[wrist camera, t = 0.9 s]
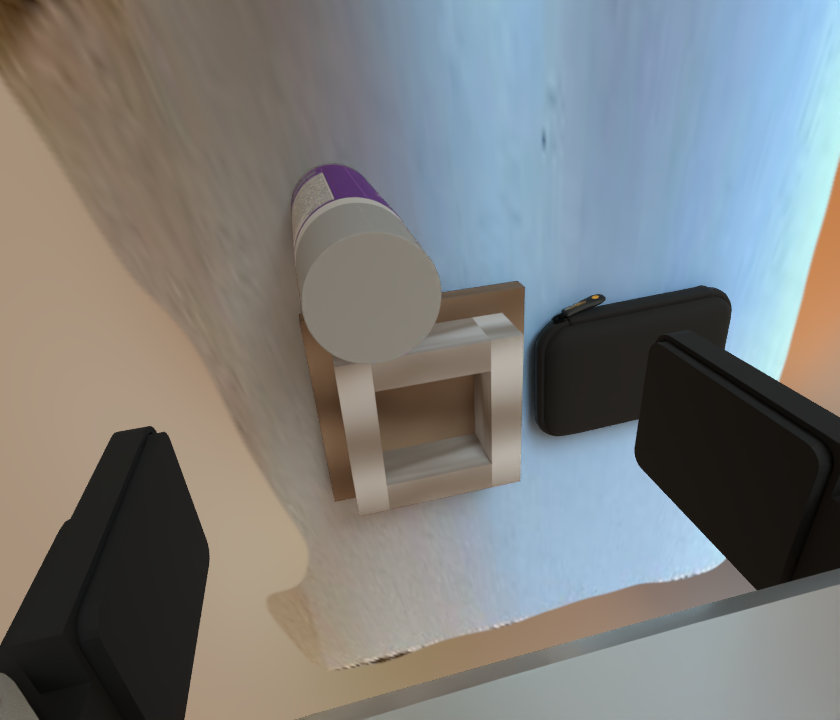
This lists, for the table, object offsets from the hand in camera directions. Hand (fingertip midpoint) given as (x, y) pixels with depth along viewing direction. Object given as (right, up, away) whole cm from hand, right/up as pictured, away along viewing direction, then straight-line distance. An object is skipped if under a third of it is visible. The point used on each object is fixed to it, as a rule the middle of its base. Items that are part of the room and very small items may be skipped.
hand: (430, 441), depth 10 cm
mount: (0, -1, +26) cm, 26 cm away
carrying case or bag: (+15, +3, +29) cm, 33 cm away
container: (-5, +10, +19) cm, 23 cm away
